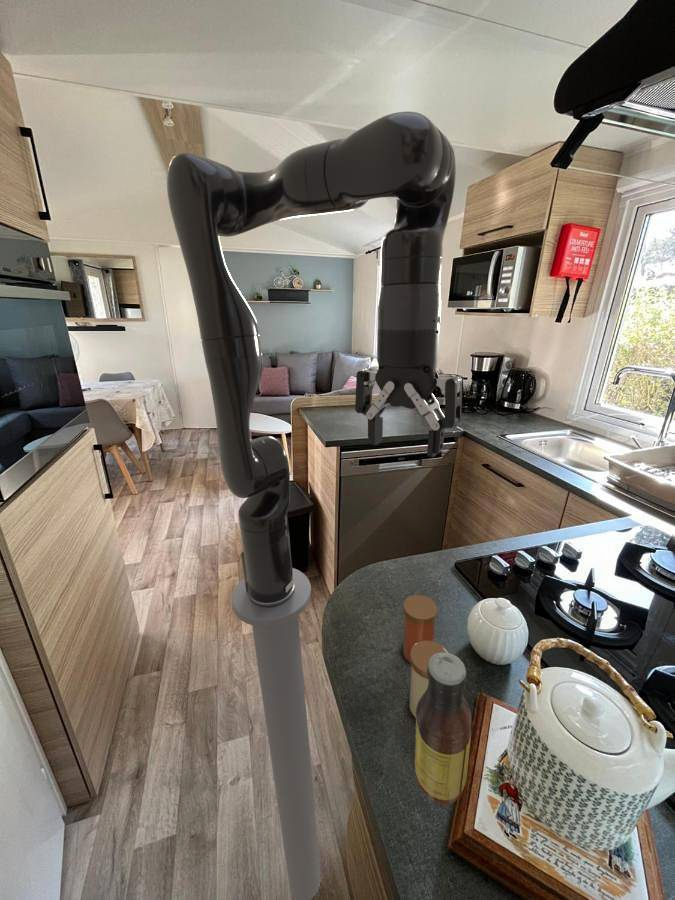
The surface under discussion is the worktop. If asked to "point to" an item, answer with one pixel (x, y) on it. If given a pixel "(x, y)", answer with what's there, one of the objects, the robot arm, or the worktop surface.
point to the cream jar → (421, 669)
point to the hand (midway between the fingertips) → (403, 449)
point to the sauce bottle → (443, 731)
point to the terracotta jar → (418, 622)
